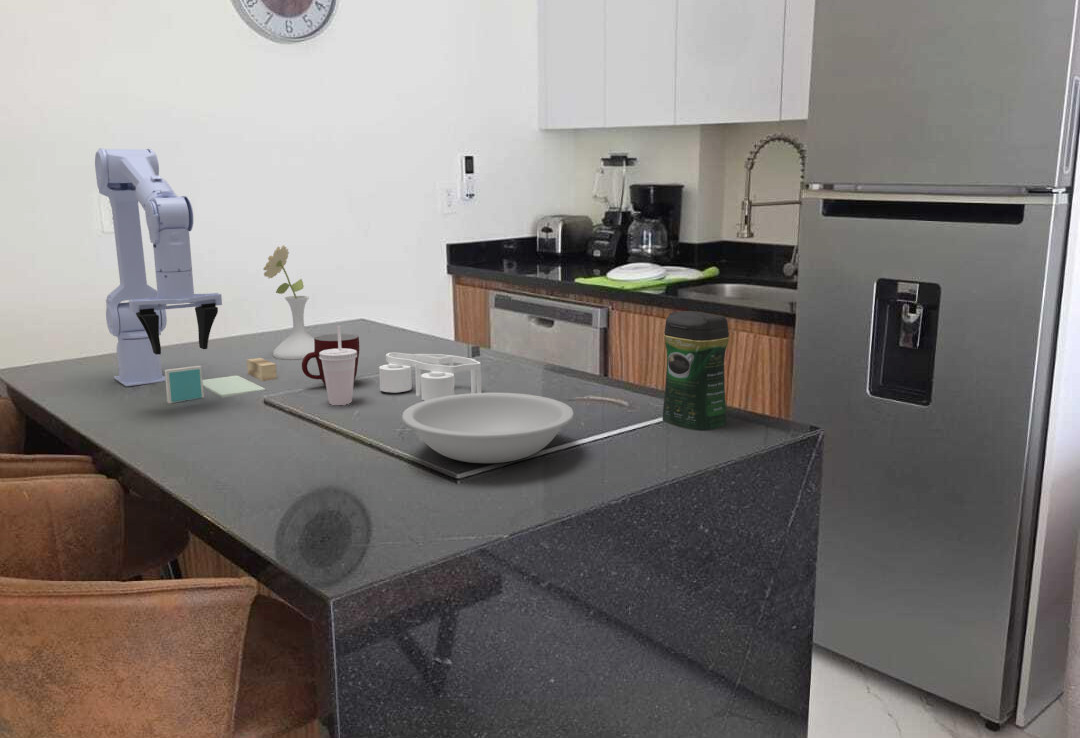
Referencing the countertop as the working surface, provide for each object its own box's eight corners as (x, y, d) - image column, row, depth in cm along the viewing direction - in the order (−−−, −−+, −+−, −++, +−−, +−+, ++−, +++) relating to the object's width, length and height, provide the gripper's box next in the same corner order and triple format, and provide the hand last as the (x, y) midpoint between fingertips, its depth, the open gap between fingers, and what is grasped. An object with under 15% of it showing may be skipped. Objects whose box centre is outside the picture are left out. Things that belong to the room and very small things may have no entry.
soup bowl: (512, 496, 117) (512, 445, 115) (367, 465, 129) (365, 419, 128) (603, 448, 137) (604, 404, 135) (470, 426, 149) (469, 385, 148)
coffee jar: (734, 432, 145) (739, 313, 141) (699, 441, 140) (703, 318, 136) (688, 419, 152) (691, 306, 148) (653, 427, 147) (655, 310, 144)
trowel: (242, 379, 185) (241, 360, 184) (267, 375, 187) (266, 357, 187) (271, 392, 173) (269, 372, 172) (296, 389, 176) (295, 369, 175)
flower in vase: (303, 353, 210) (297, 241, 205) (338, 359, 203) (332, 243, 198) (255, 363, 200) (247, 245, 195) (290, 369, 193) (283, 247, 188)
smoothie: (367, 404, 163) (363, 325, 161) (344, 412, 158) (340, 330, 155) (337, 400, 166) (333, 322, 163) (314, 408, 160) (309, 328, 157)
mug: (311, 398, 168) (308, 343, 166) (298, 390, 174) (295, 337, 172) (367, 391, 173) (365, 338, 171) (352, 383, 180) (349, 332, 178)
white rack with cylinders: (368, 396, 170) (366, 357, 168) (414, 386, 178) (412, 348, 176) (444, 414, 157) (443, 371, 155) (490, 402, 165) (489, 361, 163)
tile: (167, 403, 165) (164, 369, 164) (201, 398, 169) (199, 365, 168) (169, 404, 164) (166, 371, 163) (204, 399, 168) (201, 366, 167)
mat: (196, 384, 179) (195, 380, 179) (237, 379, 184) (237, 375, 184) (222, 399, 167) (222, 395, 167) (265, 393, 172) (265, 388, 172)
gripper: (134, 275, 148) (141, 359, 151) (225, 269, 157) (231, 349, 160) (123, 271, 154) (130, 353, 157) (211, 266, 162) (217, 343, 165)
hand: (180, 350), depth 158 cm, fingers open, 7 cm apart
